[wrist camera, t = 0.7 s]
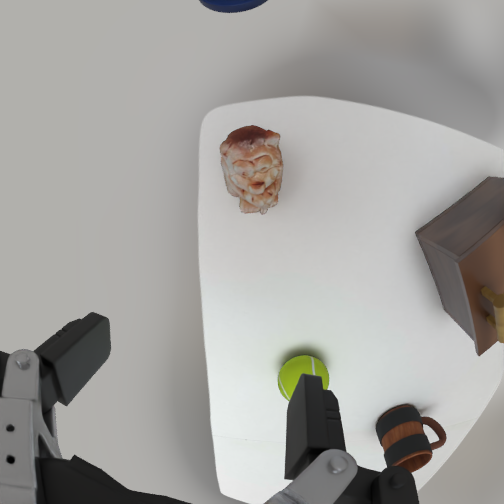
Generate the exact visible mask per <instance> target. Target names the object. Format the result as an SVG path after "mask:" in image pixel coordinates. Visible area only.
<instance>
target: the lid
mask: <svg viewBox="0 0 504 504" xmlns="http://www.w3.org/2000/svg"><path fill="white" fill-rule="evenodd" d="M454 262H455V265H456V269H457V272H458V275H459V278H460V282H461V285H462V289H463V293H464V296H465V300H466V304H467V308H468V313H469V317H470V322H471V327H472V332H473V337H474V342H475V348H476V353H477V355H478V356H480V355H481V354H483V353H484V352H485V351H486V350H488V349H489V348H490V347H491V346H492V345H494V344H495V343H496V342H497V341H499V342H500V343H504V219H503V220H502V221H501V222H500V223H499V224H498V225H497V226H496V227H494V228H493V229H492V230H491V231H490V232H489V233H488V234H487V235H485V236H484V237H483V238H482V239H481V240H480V241H478V242H477V243H476V244H475V245H474V246H472V247H471V248H470V249H469V250H467V251H466V252H465V253H464V254H462V255H461V256H460V257H459V258H457V259H456V260H455V261H454Z"/></svg>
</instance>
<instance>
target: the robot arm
mask: <svg viewBox="0 0 504 504" xmlns="http://www.w3.org/2000/svg"><path fill="white" fill-rule="evenodd" d="M110 351H111V341H110V323H109V319H108V318H107V317H104V316H102V315H99V314H97V313H94V312H91V313H89V314H88V315H87V316H85V317H84V318H83V319H77V320H75V321H72V322H69V323H68V324H67V325H66V326H64V327H63V328H62V330H59V331H58V332H56V334H55V335H53V336H52V337H50V338H49V339H48V340H47V341H45V342H44V343H43V344H42V345H40V346H39V347H38V348H37V349H36V350H34V351H30V350H26V349H24V350H23V349H22V350H18V351H15V352H13V353H12V354H8V353H5V352H2V351H0V504H191V503H187V502H184V501H180V500H177V499H174V498H170V497H167V496H162V495H155V494H149V493H142V492H137V491H132V490H129V489H127V488H126V487H124V486H123V485H121V484H120V483H119V482H117V481H116V480H114V479H113V478H112V477H110V476H109V475H108V474H107V473H105V472H104V471H103V470H102V469H100V468H98V467H96V466H94V465H92V464H90V463H88V462H86V461H85V460H82V459H81V458H79V457H77V456H76V455H74V456H73V457H72V459H71V460H66V459H63V458H62V455H61V453H60V449H59V446H58V439H57V429H56V416H55V407H54V404H55V403H56V402H57V401H58V402H60V403H62V404H63V405H65V406H67V405H68V404H69V403H70V402H71V401H72V400H73V398H74V397H75V396H76V395H77V394H78V392H79V391H80V390H81V389H82V388H83V387H84V386H85V384H86V383H87V382H88V381H89V379H91V377H92V376H93V375H94V374H95V373H96V372H97V371H98V369H99V368H100V367H101V366H102V365H103V364H104V363H105V361H106V360H107V359H108V357H109V355H110ZM284 479H288V480H293V481H292V482H291V483H290V484H289V485H288V486H287V487H286V488H285V489H283V490H282V491H279V492H278V493H276V494H275V495H274V496H273V497H271V498H270V499H269V500H268V501H266V502H265V503H264V504H419V500H418V495H417V490H416V485H415V480H414V477H413V475H412V474H411V472H410V471H409V470H407V469H406V468H404V467H401V466H389V467H387V468H385V469H384V470H383V471H382V472H378V471H374V470H370V469H366V468H363V467H360V466H358V465H357V463H356V461H355V459H354V458H353V457H352V456H351V455H350V454H349V453H347V452H346V447H345V440H344V434H343V428H342V422H341V416H340V412H339V404H338V400H337V398H336V397H335V395H334V394H333V392H332V391H331V390H324V389H323V383H322V377H321V376H317V375H311V374H305V373H302V374H301V376H300V378H299V380H298V383H297V385H296V387H295V390H294V392H293V394H292V396H291V399H290V401H289V405H288V409H287V429H286V456H285V477H284Z"/></svg>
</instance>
